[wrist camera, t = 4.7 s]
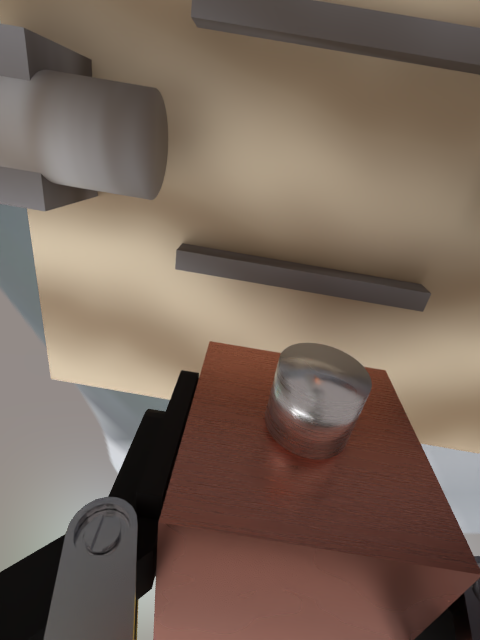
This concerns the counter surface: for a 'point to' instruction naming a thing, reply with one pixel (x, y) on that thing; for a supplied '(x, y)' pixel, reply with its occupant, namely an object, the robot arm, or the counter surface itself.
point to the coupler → (303, 507)
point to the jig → (252, 187)
